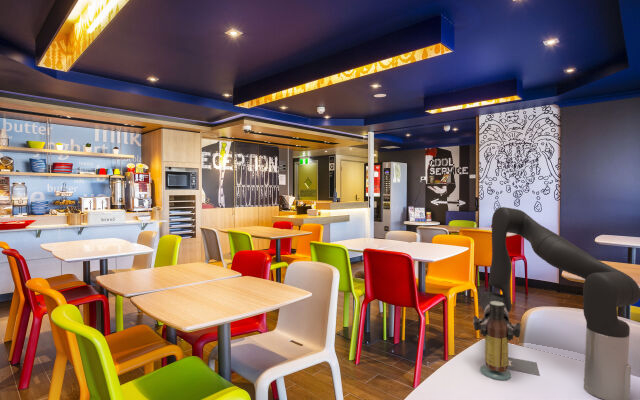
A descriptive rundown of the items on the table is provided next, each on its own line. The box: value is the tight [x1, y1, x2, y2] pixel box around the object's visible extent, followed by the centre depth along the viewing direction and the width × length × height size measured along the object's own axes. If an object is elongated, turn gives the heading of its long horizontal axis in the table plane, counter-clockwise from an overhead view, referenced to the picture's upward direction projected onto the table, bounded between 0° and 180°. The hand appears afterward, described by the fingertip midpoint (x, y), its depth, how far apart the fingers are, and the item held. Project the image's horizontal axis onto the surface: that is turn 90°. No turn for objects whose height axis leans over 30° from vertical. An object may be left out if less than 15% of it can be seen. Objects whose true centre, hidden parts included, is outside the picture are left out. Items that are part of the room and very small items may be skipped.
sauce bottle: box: [484, 301, 509, 372], centre depth 109 cm, size 6×6×20 cm
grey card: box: [507, 356, 541, 377], centre depth 115 cm, size 14×9×1 cm, turn 65°
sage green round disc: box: [479, 364, 512, 381], centre depth 109 cm, size 8×8×1 cm
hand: (496, 335), depth 107 cm, fingers closed on sauce bottle, 6 cm apart
